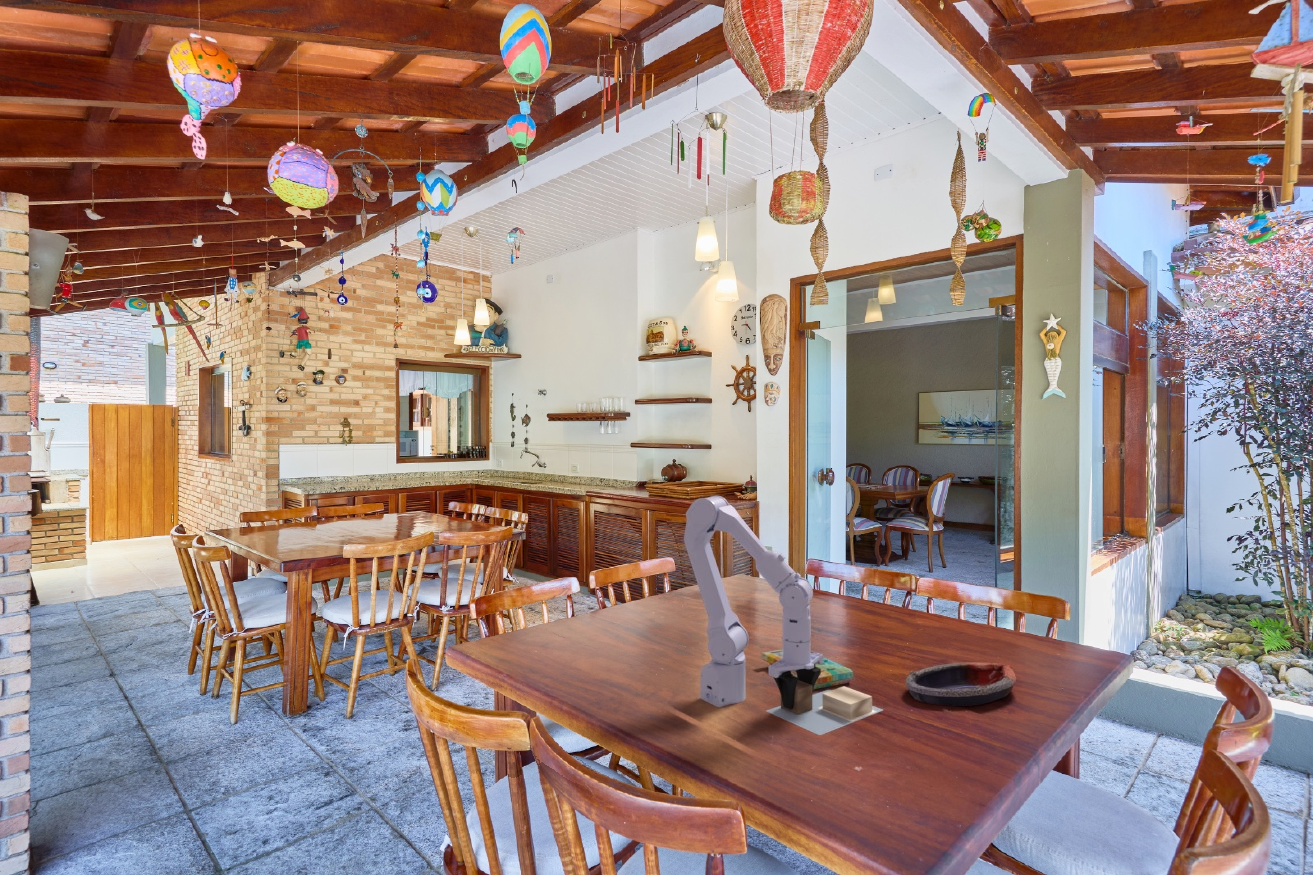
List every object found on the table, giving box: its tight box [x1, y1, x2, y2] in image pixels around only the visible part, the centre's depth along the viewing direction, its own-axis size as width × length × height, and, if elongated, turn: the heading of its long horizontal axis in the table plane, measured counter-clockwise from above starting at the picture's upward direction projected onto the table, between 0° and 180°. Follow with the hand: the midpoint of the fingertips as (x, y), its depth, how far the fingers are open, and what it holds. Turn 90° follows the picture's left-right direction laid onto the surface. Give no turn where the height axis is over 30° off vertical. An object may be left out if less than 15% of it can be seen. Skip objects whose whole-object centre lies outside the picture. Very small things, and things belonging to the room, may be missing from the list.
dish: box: [905, 662, 1017, 707], centre depth 146 cm, size 16×31×5 cm, turn 113°
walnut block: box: [780, 680, 813, 715], centre depth 135 cm, size 4×4×5 cm
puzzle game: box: [760, 648, 854, 690], centre depth 156 cm, size 12×5×20 cm
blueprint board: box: [765, 689, 884, 736], centre depth 134 cm, size 20×14×1 cm
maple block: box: [822, 686, 873, 720], centre depth 135 cm, size 7×7×3 cm
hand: (796, 704), depth 135 cm, fingers closed on walnut block, 4 cm apart
